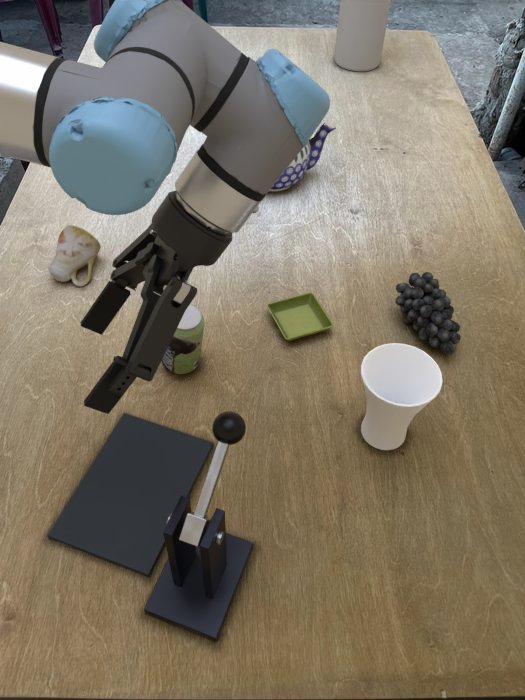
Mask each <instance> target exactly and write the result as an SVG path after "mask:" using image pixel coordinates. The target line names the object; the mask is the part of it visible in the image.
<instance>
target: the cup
mask: <svg viewBox="0 0 525 700" xmlns="http://www.w3.org/2000/svg"><path fill="white" fill-rule="evenodd" d="M360 375H361V379H362V383H363V387H364V392H365V397H366V409H365V414H364V417H363V420H362V421H361V425H360V432H361V436H362V437H363V439H364V441H365V442H366V443H367V444H368V445H369V446H372V447H373V448H375V449H378V450H381V451H392V450H396V449H398V448H399V447H401V446H402V445H403V444H404V442H405V440H406V436H407V433H408V429H409V426H410V424H411V422H412V421H413V419H414V417H415V416H416V415H417V414H418V413H419V412H420V411H421V410H423V409H424V408H425V407H426V406H427V405H428V404H429V403H431V402H432V401H433V400H435V398H437V396H438V395H439V393H440V392H441V390H442V386H443V373H442V371H441V368H440V366H439V365H438V363H437V362H436V360H434V359H433V357H432V356H431V355H429V354H428V353H427V352H426V351H424V350H422V349H420V348H419V347H417V346H414V345H410V344H406V343H399V342H398V343H397V342H391V343H384V344H380V345H378V346H376V347H374V348H372V349H371V350H370V351H368V352H367V353H366V355H364V357H363V359H362V362H361V364H360Z"/></svg>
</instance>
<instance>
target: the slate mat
mask: <svg viewBox="0 0 525 700" xmlns="http://www.w3.org/2000/svg"><path fill="white" fill-rule="evenodd" d="M213 447H214V442H213V441H210V440H207V439H204V438H202V437H199V436H195V435H192V434H189V433H186V432H183V431H181V430H177V429H174V428H171V427H168V426H165V425H162V424H159V423H156V422H153V421H150V420H147V419H145V418H141V417H138V416H136V415H132V414H129V413H126V412H123V414H122V415H121V417H120V419H119V420H118V422H117V423H116V425H115V426H114V428H113V430H112V431H111V433H110V434H109V436H108V438H107V439H106V441H105V442H104V444H103V446H102V447H101V449H100V450H99V452H98V454H96V457H95V458H94V460H93V462H92V463H91V465H90V466H89V468H88V469H87V471H86V473H85V474H84V476H83V478H82V479H81V481H80V482H79V484H78V486H77V487H76V489H75V490H74V492H73V493H72V495H71V496H70V498H69V500H68V501H67V503H66V505H65V506H64V508H63V510H62V511H61V513H60V514H59V516H58V517H57V519H56V521H55V522H54V524H53V526H52V527H51V529H50V530H49V532H48V534H47V535H46V537H47V538H48V539H49V540H52V541H54V542H58V543H60V544H63V545H64V546H66V547H67V546H68V547H70V548H73V549H75V550H78V551H81V552H83V553H85V554H88V555H90V556H94V557H96V558H98V559H100V560H104V561H106V562H109V563H111V564H114V565H117V566H118V567H122V568H124V569H126V570H129V571H132V572H135V573H137V574H140V575H142V576H145V577H147V578H149V577H150V576H151V574H152V572H153V570H154V568H155V566H156V564H157V562H158V560H159V558H160V555H161V554H162V552H163V549H164V547H165V546H166V544H165V539H164V535H163V531H164V529H165V527H166V525H167V520H168V517H169V515H170V514H171V513H173V511H174V509H175V507H176V505H177V503H178V501H179V499H180V497H181V495H182V496H185V497H187V498H189V496H190V494H191V492H192V490H193V488H194V485H195V484H196V482H197V480H198V478H199V475H200V474H201V472H202V470H203V468H204V465H205V463H206V461H207V460H208V458H209V455H210V453H211V452H212V449H213Z"/></svg>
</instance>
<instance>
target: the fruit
mask: <svg viewBox="0 0 525 700" xmlns="http://www.w3.org/2000/svg"><path fill="white" fill-rule="evenodd" d="M395 290H396V292H397V293H398V294H400V295H397V297H396V298H395V301H394V302H395V304H396V306H399V307H400V309H399V310H400V312H401V313H402V314H403V316H402V321H403V323H404V324H405V325H411V324H412V329H413V330H414V331H415V332H418V334H417V335H418V338H419V339H420V340H421V341H428V345H429V346H430V347H431V348H434V349H437V348H438V349H439V351H440V352H441V353H444V354H445V355H447V356H451V355H453V354H454V353H455V351H456V348H455V345H457V344H459V343H460V341H461V334H460V333H458V332H460V331H461V330H460V329H461V325H460V323H458V322H457V321H456V320H455V321H454V320H453V319H452V318H453V314H454V313H455V308H454V306H452V300H451V298H450V297H448V296H447V292H446V290H445V289H440V284H439V279H437V278H434V275H433V274H432V273H431V272H430V271H425V272H423V273H422V274H420V273H418V272H412V273H411V274H409V278H408V282H400V283H397V284H396V286H395Z"/></svg>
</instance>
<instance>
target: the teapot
mask: <svg viewBox="0 0 525 700" xmlns="http://www.w3.org/2000/svg"><path fill="white" fill-rule="evenodd" d="M336 129H337V127H336V126H335V124H332V123H329V122H323V123H322V124H321V125H320V126H319V128H317V130H316V131H315V134H314V136H312V137H311V138H310V139H309V141H308V143H307V145H306V147H305V148H304V147H303V149H302V150H301V151H300V152H299V154H298V155H297V156H296V157H295V159H294V160H293V161H292V162H291V164H290V165H289V166H288V167H287V169H286V170H285V171H284V172H283V174H282V175H281V176H280V178H279V179H278V180H277V181H276V183H275V184H274V185H273V186H272V188H271V189H270V190H269V191H268V192H281V191H284V190H287V189H289V188H290V187H292V186H293V185H296V184H297V183H298V182H299V181H300V180H302V179H303V177H304V176H305V174H306V172H307V171H309V170H311V169H312V168H314V167H315V166H316V165H317V163H318V162H319V161H320V157H321V156H322V152H323V150H324V149H323V148H324V146H325V141H326V139H327V137H328V135H329V134H330V133H331V132H333V131H334V130H336Z"/></svg>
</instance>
